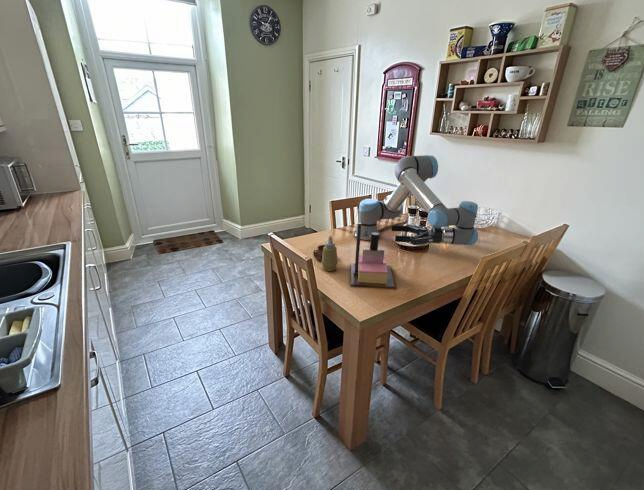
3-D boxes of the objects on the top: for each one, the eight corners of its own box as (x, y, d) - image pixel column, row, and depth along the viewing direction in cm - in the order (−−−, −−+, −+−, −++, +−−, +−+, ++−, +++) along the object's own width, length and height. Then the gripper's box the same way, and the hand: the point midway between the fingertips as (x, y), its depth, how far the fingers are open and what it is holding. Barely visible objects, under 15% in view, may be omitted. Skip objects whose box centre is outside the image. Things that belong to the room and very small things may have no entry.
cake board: (350, 265, 171) (353, 215, 160) (389, 267, 169) (395, 217, 158) (350, 286, 151) (354, 231, 140) (394, 288, 149) (401, 233, 138)
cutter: (362, 260, 159) (364, 231, 153) (382, 261, 158) (385, 232, 152) (362, 263, 156) (364, 234, 150) (383, 264, 155) (386, 235, 149)
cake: (357, 265, 168) (358, 255, 166) (383, 267, 167) (384, 256, 165) (358, 282, 152) (359, 270, 150) (386, 283, 151) (388, 272, 149)
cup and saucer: (321, 264, 171) (322, 253, 168) (308, 256, 180) (308, 246, 177) (339, 259, 177) (340, 248, 175) (326, 251, 186) (326, 241, 184)
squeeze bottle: (330, 264, 172) (331, 231, 164) (340, 269, 166) (342, 236, 158) (318, 268, 167) (318, 235, 160) (327, 274, 161) (328, 240, 154)
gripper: (446, 254, 139) (395, 251, 141) (433, 233, 162) (389, 231, 163) (449, 237, 136) (397, 235, 137) (435, 218, 159) (391, 216, 160)
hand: (393, 233), depth 150 cm, fingers open, 13 cm apart
